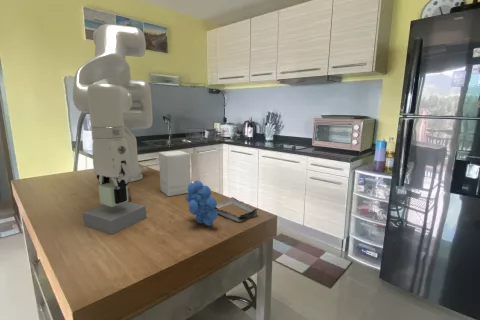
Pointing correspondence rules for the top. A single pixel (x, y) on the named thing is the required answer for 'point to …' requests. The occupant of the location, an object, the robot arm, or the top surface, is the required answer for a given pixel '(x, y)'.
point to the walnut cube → (129, 194)
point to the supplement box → (174, 172)
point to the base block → (114, 217)
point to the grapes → (201, 203)
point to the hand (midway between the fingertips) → (114, 199)
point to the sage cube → (108, 194)
